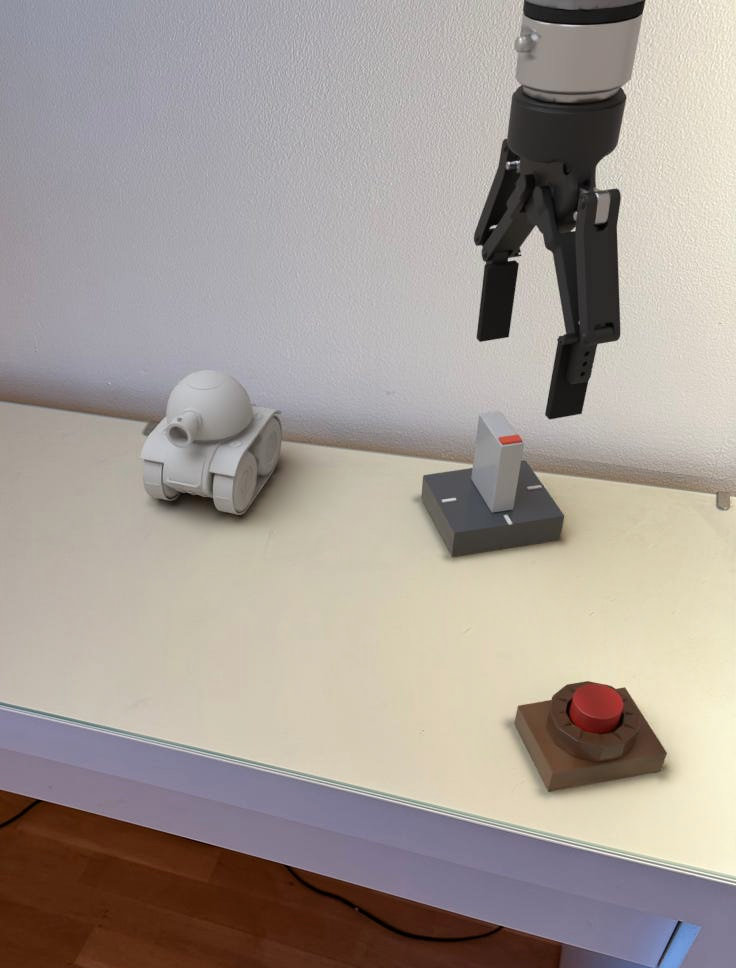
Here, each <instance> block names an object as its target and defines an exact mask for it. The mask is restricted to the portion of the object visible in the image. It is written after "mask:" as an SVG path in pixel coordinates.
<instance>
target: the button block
mask: <svg viewBox="0 0 736 968" xmlns="http://www.w3.org/2000/svg"><path fill="white" fill-rule="evenodd" d="M587 684H601V685H605V686H607V687H610V688H612V689H613V690H615V691H616V692H617V693H618V694H619V695H620V696H621V698H622V700H623V710H622V713H621V717H620V720H619V723H618V725H617V727H616V728H615V729H614V730H612V731H610V732H608V733H604V734H595V733H591V732H586V731H584V730H582V729H580V728H579V727H577V726H576V725H575V724H574V723H573V721H572V719H571V717H570V707H571V703H572V700H573V696H574V693H575V691H576V690H577V689H578V688H580V687H581V686H583V685H587ZM513 724H514V726H515V728H516V730H517V732H518V734H519V736H520V739H521V741H522V742H523V744H524V746H525V748H526V750H527V752H528V754H529V756H530V758H531V760H532V762H533V764H534V765H535V768H536V770H537V773H538V775H539V776H540V778H541V781H542V782H543V784H544V787H545V788H546V790H547V792H554V791H558V790H563V789H564V790H565V789H570V788H575V787H580V786H581V787H582V786H586V785H592V784H598V783H604V782H608V781H614V780H618V779H626V778H630V777H636V776H643V775H646V774H653V773H658V772H661V771H662V768H663V765H664V763H665V760H666V757H667V755H668V752H667V751H666V749H665V747H664V746H663V744H662V743H661V741H660V740H659V737H658V736H657V734H655V731H654V729H652V727H651V725H650V724H649V721H648V720H647V719H646V717H645V716H644V715H643V712H642V711H641V710H640V708H639V706H638V705H637V703H636V702H635V701H634V699H633V697H632V696H631V693H630V692H629V691H628V690H627V688H626V687H625V686H624V687H619V688H615V687H614V686H612V685H609V684H605V683H600V682H596V681H595V682H594V681H591V680H586V681H579V682H574V683H567V684H566V685H564V686H563V687H562V688H560V689H559V690H558V691H557V692H556V693H554V694H553V695H552V697H551V699H549V700H543V701H537V702H531V703H525V704H520V705H519V704H518V705H517V707H516V713H515V719H514V723H513Z"/></svg>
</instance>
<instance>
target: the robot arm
mask: <svg viewBox="0 0 736 968" xmlns="http://www.w3.org/2000/svg"><path fill="white" fill-rule="evenodd" d="M645 5H646V0H523V6H522V17H521V25H520V33H519V36H516V37H515V40H514V50H515V52H516V53H517V57H516V59H517V60H516V66H515V74H514V75H515V77H514V78H515V80H516V81H517V83H518V84H519V85H520V86H518V87H517V88H516V89H515V91H514V92H513V93H512V95H511V103H510V110H509V111H510V112H509V120H508V126H507V127H508V128H507V137H506V138H504V139H503V140H502V143H501V148H500V154H499V158H498V159H499V160H498V166H497V168H496V171H495V175H494V177H493V181H492V183H491V186H490V188H489V191H488V194H487V197H486V199H485V202H484V205H483V208H482V212H481V214H480V215H479V220H478V222H477V225H476V227H475V231H474V234H473V242H474V244H475V246H477V247H479V246H481V248H482V249H481V259H482V261H483V262H485V264H484V267H483V275H482V283H481V285H482V286H481V292H480V293H481V294H480V303H479V312H478V321H477V330H476V339H477V341H479V342H480V343H482V342H488V341H493V340H500V339H507V338H509V337H510V332H511V325H512V318H513V311H514V303H515V302H514V301H515V295H516V287H517V282H518V281H517V280H518V275H519V274H518V273H519V266H520V263H519V262H518V261H517V260H509V259H511V258H518V257H519V258H520V257H521V256H522V252H521V247H522V245H523V244H524V242H525V241H526V240H527V238H528V237H529V236H530V234H531V233H532V231H533V230H534V229H535V227H537V229H538V231H539V232H540V233H541V234H542V237H543V244H544V247H545V248H546V250H548V251H550V252H551V253H552V257H553V264H554V271H555V275H556V282H557V288H558V294H559V300H560V306H561V311H562V317H563V318H562V319H563V323H564V329H565V333H564V334H563V335H559V336H558V338H556V340H557V344H556V349H555V356H554V362H553V367H552V372H551V379H550V385H549V389H548V396H547V401H546V407H545V412H544V416H545V417H546V418H547V419H548V420H556V419H560V418H567V417H572V416H577V415H582V414H583V409H584V406H585V400H586V395H587V390H588V385H589V381H590V379H591V376H592V374H593V373H592V372H593V370H592V369H593V368H594V367H593V366H594V362H595V359H596V358H595V357H596V353H597V348H598V345H601V344H607V343H612V342H618V341H619V339H620V337H621V308H620V305H621V304H620V280H619V279H620V278H619V277H620V276H619V249H618V247H619V246H618V245H619V243H618V221H619V216H620V215H619V214H620V207H621V200H622V196H621V191H620V189H619V188H611V189H599V188H597V182H596V181H597V180H596V179H597V178H596V177H597V176H596V175H597V174H596V173H597V166H598V165H599V163H600V162H601V161H602V160H603V159H604V158H605V157H606V156H609V155H610V154H612V153H613V151H614V150H616V148H617V147H618V143H619V140H620V133H621V128H622V123H623V119H624V113H625V108H626V103H627V94H626V93H625V91H624V89H623V88H622V87H624V86H625V85H626V84H627V83H628V82H630V81H631V79H632V75H633V70H634V65H635V59H636V54H637V49H638V43H639V38H640V37H639V36H640V30H641V27H642V19H643V15H644V9H645ZM493 226H495V227H493Z"/></svg>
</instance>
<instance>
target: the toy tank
mask: <svg viewBox="0 0 736 968" xmlns="http://www.w3.org/2000/svg"><path fill="white" fill-rule="evenodd" d="M278 415H282V411H281V410H280V409H277V408H276V409H275V408H271V407H270V408H269V407H263V406H258V405H257V404H256V403H253V402H251V397H250V396H249V394H248V392H247V390H246V389H245V387H244V385H243V384H242V383H240V381H238V380H237V379H236V378H235V377H233V376H232V375H230V374H228V373H226V372H224V371H221V370H215V369H203V370H199V371H198V370H197V371H195V372H192V373H190V374H188V375H186V376H185V377H184V378H182V379H181V380H180V381H179V382H177V384H176V386H174V388H173V389H172V391H171V393H170V395H169V397H168V401H167V405H166V415H165V416H164V418H163V419H162V420H161V421H160V422H159V423H158V424H157V426H155V428H154V429H153V430H152V431H151V432H150V434H149V435H148V436H147V438H146V440H145V441H144V444H143V446H142V448H141V452H140V455H139V459H140V460H143V465H142V482H143V483H142V484H143V487H144V491H145V492H146V494H147V495H148V496H149V497H151V498H156V499H160V500H164V501H170V502H172V501H175V500H176V499H177V498H179V497H180V495H182V493H183V494H185V493H187V494H190V495H193V496H196V495H197V496H201V497H203V498H206V497H207V498H212V499H213V504H214V506H215V508H216V509H217V511H219V512H222V513H228V514H232V515H238V516H242V515H243V514H245V513H246V512H247V511H248V509H249V507H250V506H251V505H252V503H253V502H254V500H255V499H256V498H257V496H258V495H259V493H260V491H261V490H262V489H263V487H264V486H265V485H266V483H267V481H268V480H269V479H270V477H271V476H272V474H273V473H274V471H275V469H276V467H277V464H278V461H279V458H280V454H281V450H282V441H283V427H282V421H281V419H280V417H279V416H278Z"/></svg>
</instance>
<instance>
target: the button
mask: <svg viewBox="0 0 736 968" xmlns="http://www.w3.org/2000/svg"><path fill="white" fill-rule="evenodd" d="M601 684H602V683H600V684H587V685H583V686H581V687H580V688H578V689H577V690H576V691H575V693H574V696H573V700H572V703H571V707H570V717H571V719H572V721H573V723H574V724H575V725H576V726H577V727H579V728H580V729H582V730H584V731H586V732H591V733H595V734H604V733H608V732H610V731H612V730H614V729H615V728H616V727H617V725H618V723H619V720H620V717H621V713H622V710H623V700H622V698H621V696H620V695H619V694H618V693H617V692H616V691H615V690H613V689H612V688H610V687H607V686H605V685H606V684H605V685H601Z"/></svg>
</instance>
